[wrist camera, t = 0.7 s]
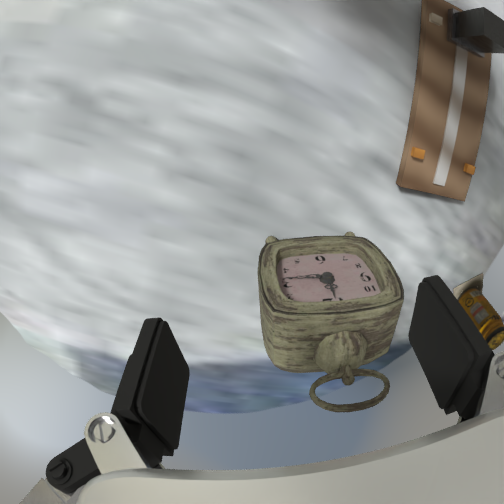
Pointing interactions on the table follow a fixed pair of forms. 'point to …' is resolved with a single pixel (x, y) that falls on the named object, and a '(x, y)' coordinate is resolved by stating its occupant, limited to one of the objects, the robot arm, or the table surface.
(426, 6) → the fader board
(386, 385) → the tabletop clock
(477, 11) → the fader slider
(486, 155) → the table surface
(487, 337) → the condiment
